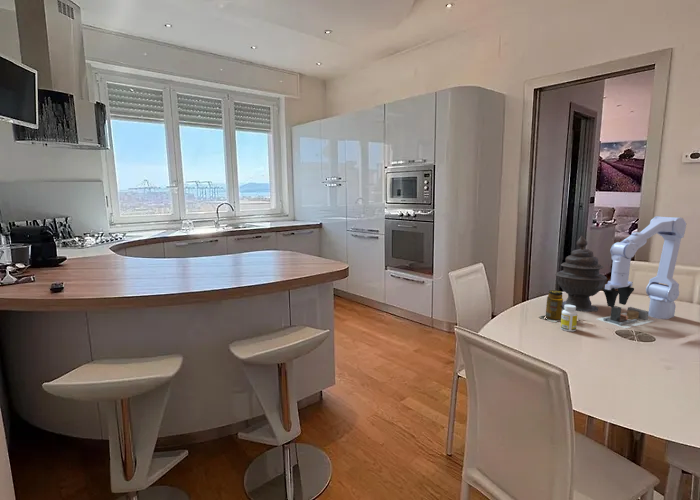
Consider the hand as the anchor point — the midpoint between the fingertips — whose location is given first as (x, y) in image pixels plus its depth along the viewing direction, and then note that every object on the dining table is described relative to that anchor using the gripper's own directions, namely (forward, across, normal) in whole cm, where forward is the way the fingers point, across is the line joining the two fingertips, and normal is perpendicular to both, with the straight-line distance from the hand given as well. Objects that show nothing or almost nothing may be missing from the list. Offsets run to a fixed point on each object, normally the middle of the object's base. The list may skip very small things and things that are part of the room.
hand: (616, 305), depth 154 cm
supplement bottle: (+9, +21, -5) cm, 23 cm away
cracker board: (+9, -7, 0) cm, 11 cm away
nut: (+7, -12, 0) cm, 14 cm away
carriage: (+7, -2, 0) cm, 7 cm away
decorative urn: (+9, -7, -21) cm, 24 cm away
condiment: (+9, +15, -17) cm, 24 cm away
